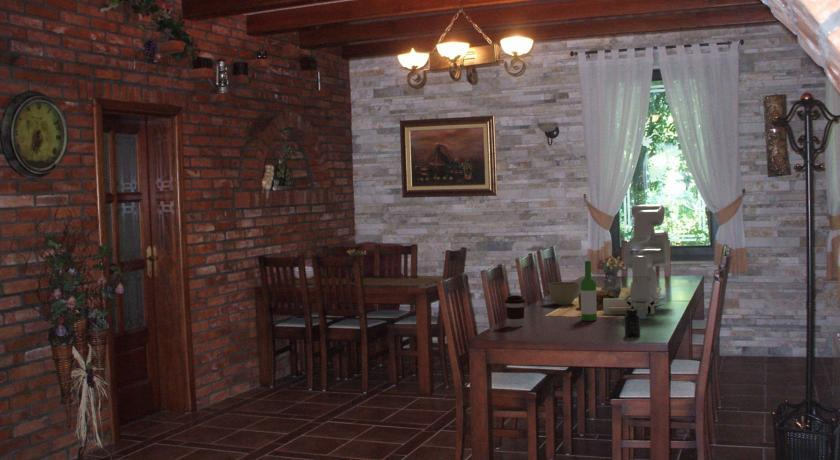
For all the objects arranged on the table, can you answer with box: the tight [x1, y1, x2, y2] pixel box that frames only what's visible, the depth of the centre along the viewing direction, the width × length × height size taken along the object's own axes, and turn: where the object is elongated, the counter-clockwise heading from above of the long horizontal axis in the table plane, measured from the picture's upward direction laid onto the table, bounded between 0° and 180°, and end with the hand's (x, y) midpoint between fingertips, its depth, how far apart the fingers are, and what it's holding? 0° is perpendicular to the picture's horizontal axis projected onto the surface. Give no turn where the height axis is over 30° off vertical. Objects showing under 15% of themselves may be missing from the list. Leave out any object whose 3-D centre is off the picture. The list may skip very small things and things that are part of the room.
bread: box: [577, 289, 615, 310], centre depth 466 cm, size 19×11×10 cm, turn 85°
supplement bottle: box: [623, 309, 641, 338], centre depth 377 cm, size 7×7×12 cm
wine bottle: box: [580, 260, 598, 322], centre depth 424 cm, size 8×8×30 cm
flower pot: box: [547, 281, 580, 306], centre depth 486 cm, size 18×18×12 cm
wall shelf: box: [602, 298, 656, 315], centre depth 441 cm, size 11×26×8 cm, turn 76°
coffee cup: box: [504, 294, 526, 328], centre depth 414 cm, size 10×10×15 cm
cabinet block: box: [636, 302, 647, 320], centre depth 427 cm, size 7×5×8 cm
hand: (640, 314), depth 428 cm, fingers open, 7 cm apart
